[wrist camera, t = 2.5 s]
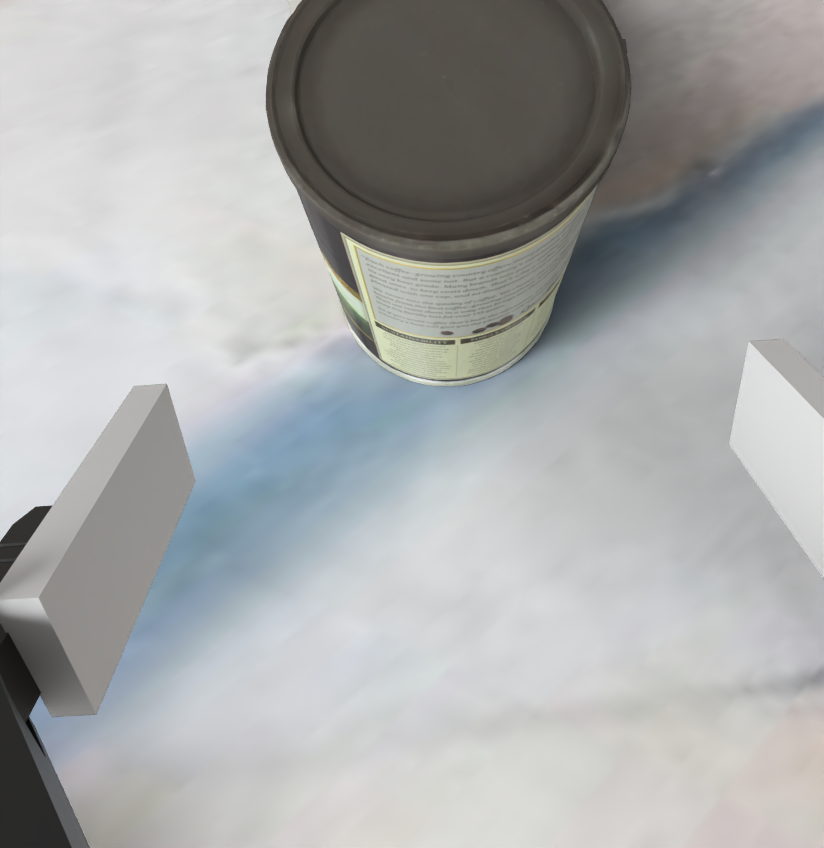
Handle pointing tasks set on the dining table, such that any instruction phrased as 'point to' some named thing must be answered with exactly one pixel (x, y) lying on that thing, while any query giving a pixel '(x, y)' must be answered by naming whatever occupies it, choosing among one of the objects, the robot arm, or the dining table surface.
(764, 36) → the dining table surface
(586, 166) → the coffee can
